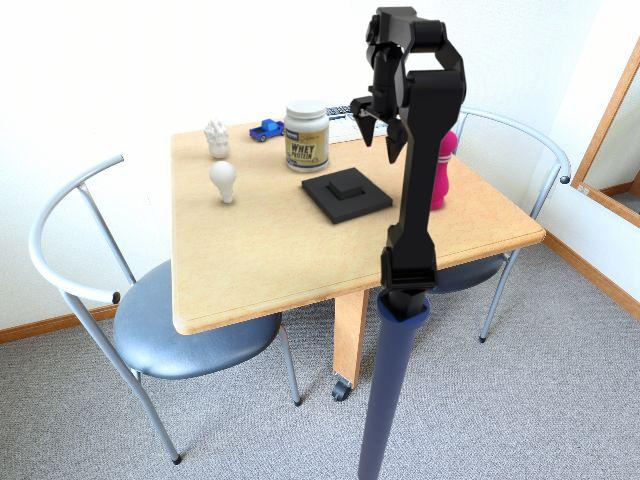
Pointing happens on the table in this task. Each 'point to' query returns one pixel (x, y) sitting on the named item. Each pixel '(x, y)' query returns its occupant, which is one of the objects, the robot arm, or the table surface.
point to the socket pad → (349, 207)
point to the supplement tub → (306, 135)
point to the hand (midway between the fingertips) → (379, 154)
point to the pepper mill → (443, 170)
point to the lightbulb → (223, 179)
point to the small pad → (345, 187)
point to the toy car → (267, 130)
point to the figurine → (217, 138)
